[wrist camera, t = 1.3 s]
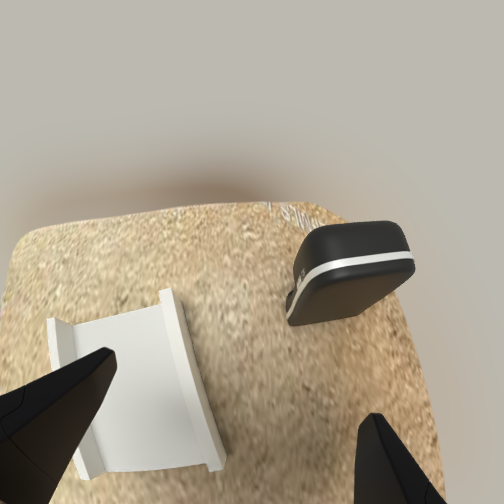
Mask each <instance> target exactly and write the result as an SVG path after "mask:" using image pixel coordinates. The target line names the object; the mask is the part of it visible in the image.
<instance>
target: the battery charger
mask: <svg viewBox="0 0 504 504" xmlns="http://www.w3.org/2000/svg"><path fill="white" fill-rule="evenodd" d="M414 262H415V259H414V256H413V253H411V252H410V249H409V246H408V244H407V241H406V238H405V235H404V233H403V231H402V229H401V228H400V226H399V225H397V224H396V223H394V222H391V221H370V222H357V223H356V222H355V223H344V224H333V225H326V226H322V227H318V228H316V229H314V230H312V231H311V232H310V233H309V234H308V235H307V237H306V238H305V239H304V241H303V243H302V245H301V247H300V249H299V251H298V253H297V256H296V259H295V262H294V266H293V275H294V280H295V287H294V290H293V291H291V292H290V293H289V294H288V296H287V299H286V312H287V314H286V318H287V320H288V323H289V325H290V326H299V325H306V324H312V323H319V322H325V321H330V320H336V319H342V318H347V317H352V316H357V315H359V314H360V313H361V312H363V311H364V310H366V309H367V308H369V307H370V306H372V305H373V304H375V303H376V302H378V301H379V300H381V299H382V298H384V297H385V296H387V295H388V294H389V293H391V292H392V291H394V290H395V289H396V288H397V287H399V286H400V285H401V284H403V283H404V282H405V281H406V280H408V279H409V278H410V277H411V276H412V275H413V274H414V272H415V264H414Z"/></svg>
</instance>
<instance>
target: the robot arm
mask: <svg viewBox="0 0 504 504" xmlns="http://www.w3.org/2000/svg"><path fill="white" fill-rule="evenodd" d="M116 371H117V360H116V354H115V351H114V350H112V349H110V348H108V347H102V348H100V349H98V350H96V351H94V352H92V353H90V354H88V355H86V356H84V357H82V358H80V359H78V360H76V361H74V362H71V363H69V364H67V365H65V366H63V367H61V368H59V369H57V370H55V371H53V372H51V373H49V374H47V375H45V376H43V377H41V378H39V379H37V380H35V381H32V382H30V383H28V384H27V385H24V386H22V387H20V388H18V389H15V390H13V391H11V392H9V393H6V394H3V395H1V396H0V504H49V502H50V500H51V498H52V496H53V494H54V492H55V490H56V488H57V486H58V483H59V481H60V479H61V477H62V476H63V474H64V472H65V470H66V468H67V466H68V464H69V462H70V460H71V459H72V457H73V455H74V453H75V451H76V449H77V447H78V446H79V444H80V442H81V440H82V438H83V437H84V435H85V433H86V431H87V430H88V428H89V426H90V424H91V422H92V421H93V419H94V417H95V416H96V414H97V412H98V410H99V409H100V407H101V405H102V403H103V401H104V398H105V396H106V394H107V392H108V389H109V387H110V385H111V382H112V380H113V378H114V376H115V373H116ZM354 504H447V503H446V502H445V501H444V499H443V498H442V497H441V496H440V494H439V493H438V492H437V490H436V489H435V488H434V486H433V485H432V483H431V482H430V481H429V479H428V478H427V476H426V475H425V474H424V472H423V471H422V469H421V468H420V467H419V465H418V464H417V462H416V461H415V460H414V458H413V457H412V455H411V454H410V452H409V451H408V450H407V448H406V447H405V445H404V444H403V443H402V441H401V440H400V438H399V437H398V436H397V434H396V433H395V431H394V430H393V429H392V427H391V426H390V425H389V423H388V422H387V420H386V419H385V418H384V416H383V415H382V414H381V413H370V414H369V415H368V416H367V417H366V418H365V419H364V421H363V422H362V423H361V424H360V426H359V429H358V438H357V448H356V457H355V477H354Z"/></svg>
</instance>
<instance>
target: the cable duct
mask: <svg viewBox="0 0 504 504" xmlns="http://www.w3.org/2000/svg"><path fill="white" fill-rule="evenodd" d="M159 295H160V301H161V304H158V305H155V306H151V307H147V308H143V309H139V310H135V311H131V312H127V313H123V314H118V315H114V316H110V317H106V318H102V319H98V320H93V321H89V322H85V323H81V324H76V325H70V324H68V323H66V322H64V321H62V320H59V319H57V318H55V317H54V318H50V319H47V333H48V344H49V353H50V361H51V368H52V372H53V371H55V370H57V369H59V368H61V367H63V366H65V365H67V364H69V363H71V362H74V361H76V360H78V359H80V358H82V357H84V356H86V355H88V354H90V353H92V352H94V351H96V350H98V349H100V348H102V347H108V348H110V349H112V350H114V351H115V354H116V360H117V371H116V373H115V376H114V378H113V380H112V382H111V385H110V387H109V389H108V392H107V394H106V396H105V398H104V401H103V403H102V405H101V407H100V409H99V410H98V412H97V414H96V416H95V417H94V419H93V421H92V422H91V424H90V426H89V428H88V430H87V431H86V433H85V435H84V437H83V438H82V440H81V442H80V444H79V446H78V447H77V449H76V451H75V453H74V455H73V460H74V463H75V465H76V468H77V471H78V474H79V476H80V479H81V480H91V479H93V478H95V477H97V476H99V475H101V474H103V473H105V472H132V471H148V470H160V469H169V468H177V467H185V466H191V465H198V464H203V463H206V464H207V467H208V470H209V472H214V471H219V470H223V469H224V466H225V462H226V458H227V454H226V451H225V449H224V446H223V443H222V440H221V437H220V434H219V431H218V428H217V426H216V423H215V419H214V416H213V413H212V410H211V407H210V404H209V401H208V398H207V394H206V391H205V388H204V384H203V381H202V377H201V374H200V370H199V367H198V363H197V360H196V356H195V352H194V349H193V345H192V341H191V337H190V333H189V329H188V325H187V321H186V317H185V313H184V309H183V304H182V302H181V300H180V299H179V298H178V296H177V295H176V294H175V292H174V291H173V290H172V288H167V289H164V290H160V291H159Z"/></svg>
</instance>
